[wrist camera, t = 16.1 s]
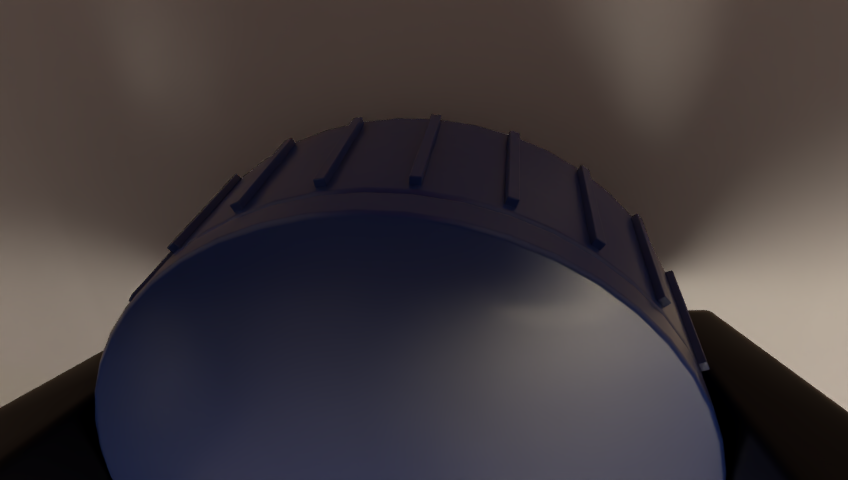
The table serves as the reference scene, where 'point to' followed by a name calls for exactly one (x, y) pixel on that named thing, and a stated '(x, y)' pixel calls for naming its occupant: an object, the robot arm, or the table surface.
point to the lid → (408, 325)
